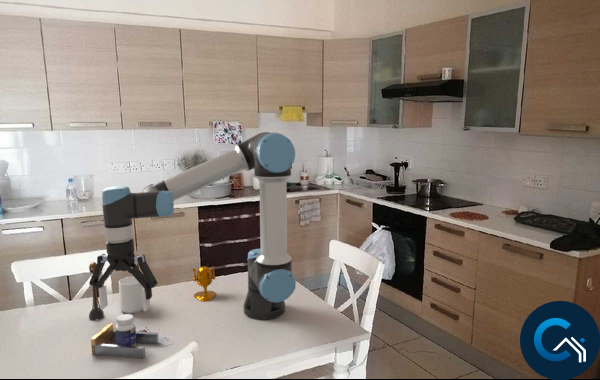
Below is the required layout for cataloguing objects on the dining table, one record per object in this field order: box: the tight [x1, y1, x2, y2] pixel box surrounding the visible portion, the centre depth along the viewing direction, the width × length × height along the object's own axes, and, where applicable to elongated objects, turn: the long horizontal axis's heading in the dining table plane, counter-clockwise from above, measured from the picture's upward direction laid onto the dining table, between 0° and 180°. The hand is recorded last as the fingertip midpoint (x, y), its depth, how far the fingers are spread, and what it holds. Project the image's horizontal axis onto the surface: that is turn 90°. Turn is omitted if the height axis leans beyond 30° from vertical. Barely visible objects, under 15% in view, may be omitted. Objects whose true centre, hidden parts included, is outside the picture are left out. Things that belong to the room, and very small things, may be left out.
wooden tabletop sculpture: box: [88, 261, 105, 321], centre depth 152 cm, size 6×5×20 cm
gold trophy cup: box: [192, 265, 217, 303], centre depth 172 cm, size 9×11×12 cm
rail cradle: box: [90, 323, 159, 359], centre depth 133 cm, size 16×10×5 cm, turn 83°
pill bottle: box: [114, 313, 137, 346], centre depth 132 cm, size 6×6×10 cm
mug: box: [118, 275, 144, 315], centre depth 161 cm, size 12×9×11 cm
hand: (125, 308), depth 131 cm, fingers open, 13 cm apart
